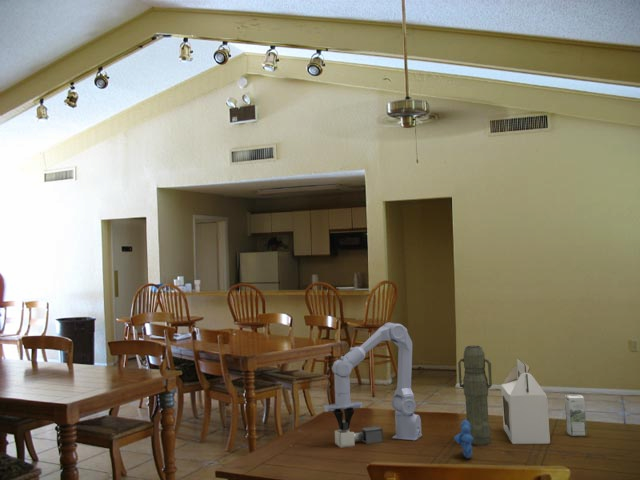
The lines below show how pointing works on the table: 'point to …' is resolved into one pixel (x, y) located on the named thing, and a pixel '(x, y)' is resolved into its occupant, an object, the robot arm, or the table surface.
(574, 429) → the syrup box
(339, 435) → the ceramic socket
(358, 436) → the silver cylinder with handle
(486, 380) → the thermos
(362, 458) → the table surface
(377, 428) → the charcoal sleeve
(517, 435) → the gable box
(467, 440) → the grapes
